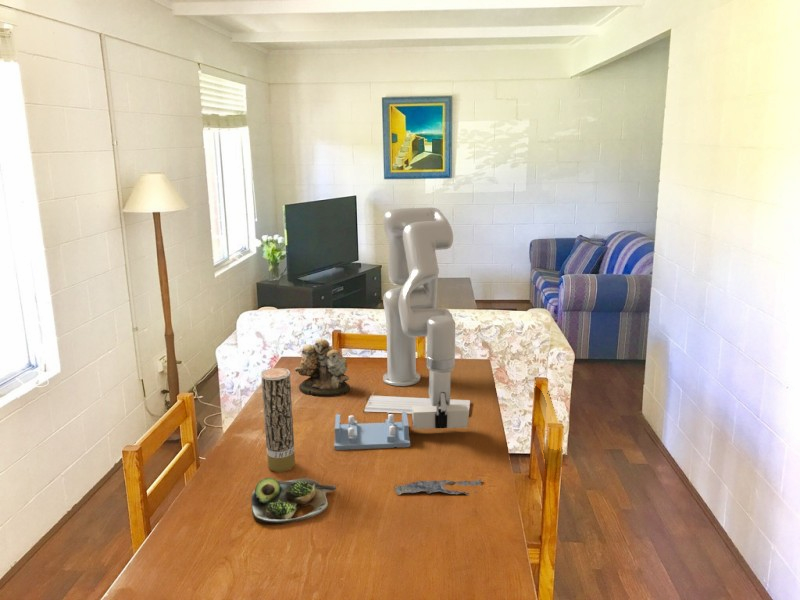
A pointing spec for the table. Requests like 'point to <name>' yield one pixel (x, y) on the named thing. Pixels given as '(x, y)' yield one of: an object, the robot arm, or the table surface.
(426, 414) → the clay bar
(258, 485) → the salad plate
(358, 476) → the table surface
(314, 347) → the owl figurine
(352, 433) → the rack
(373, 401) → the grooved white panel
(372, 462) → the table surface
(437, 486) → the driftwood
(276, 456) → the paper tube
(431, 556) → the table surface
